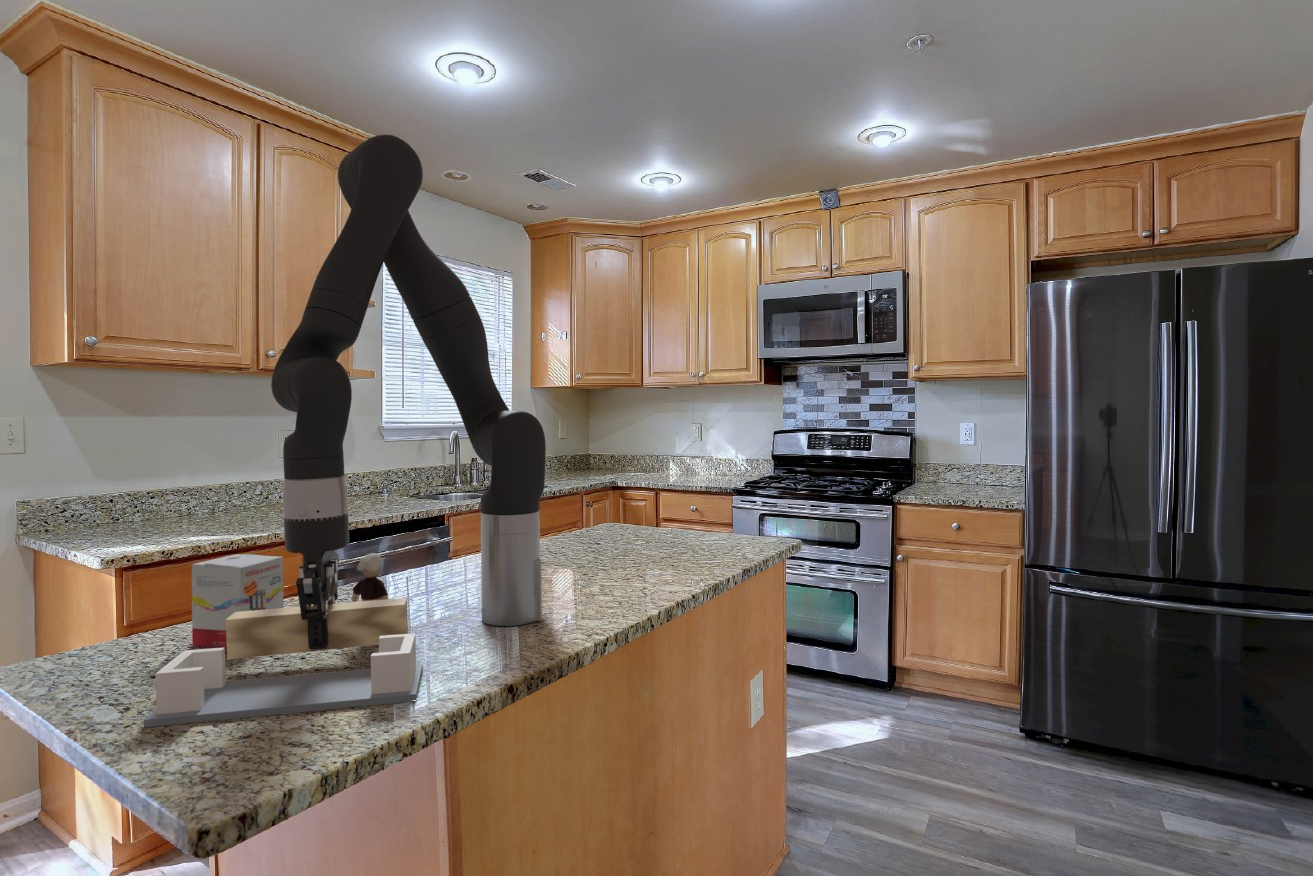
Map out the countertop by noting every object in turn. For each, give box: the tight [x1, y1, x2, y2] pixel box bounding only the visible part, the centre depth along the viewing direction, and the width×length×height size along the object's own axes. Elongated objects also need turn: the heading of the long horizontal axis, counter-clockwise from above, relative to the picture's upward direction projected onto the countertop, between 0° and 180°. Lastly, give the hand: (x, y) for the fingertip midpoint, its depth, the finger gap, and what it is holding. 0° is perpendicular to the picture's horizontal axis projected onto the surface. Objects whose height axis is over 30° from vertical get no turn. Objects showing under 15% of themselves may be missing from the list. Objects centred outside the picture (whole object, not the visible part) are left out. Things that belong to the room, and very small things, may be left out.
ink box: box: [191, 553, 284, 649], centre depth 103 cm, size 9×9×12 cm
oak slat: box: [226, 597, 409, 660], centre depth 92 cm, size 21×4×5 cm, turn 105°
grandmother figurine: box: [350, 552, 389, 602], centre depth 102 cm, size 8×4×13 cm, turn 71°
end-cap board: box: [143, 632, 424, 728], centre depth 81 cm, size 27×10×5 cm, turn 104°
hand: (322, 642), depth 92 cm, fingers closed on oak slat, 3 cm apart
